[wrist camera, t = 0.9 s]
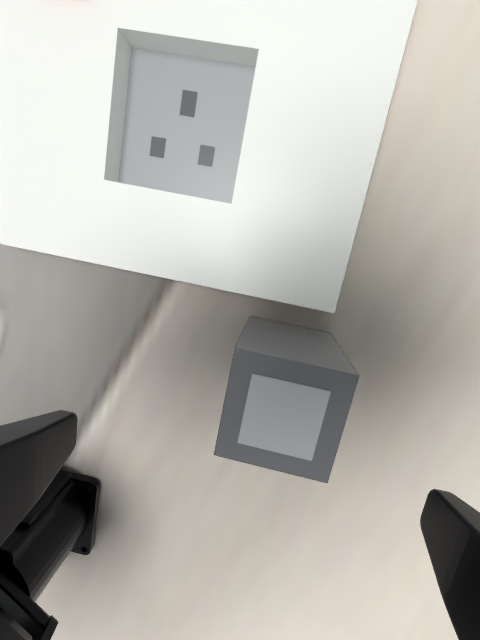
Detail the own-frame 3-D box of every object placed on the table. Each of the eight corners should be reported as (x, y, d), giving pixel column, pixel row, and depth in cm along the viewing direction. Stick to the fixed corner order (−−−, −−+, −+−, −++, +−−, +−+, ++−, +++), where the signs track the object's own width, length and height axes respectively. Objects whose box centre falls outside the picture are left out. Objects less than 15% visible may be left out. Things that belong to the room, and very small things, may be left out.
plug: (310, 406, 20) (327, 484, 13) (234, 389, 21) (213, 455, 14) (330, 332, 19) (359, 375, 12) (250, 315, 20) (234, 348, 13)
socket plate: (328, 307, 19) (337, 316, 16) (18, 243, 20) (-22, 241, 18) (411, -12, 15) (440, -70, 13) (29, -62, 17) (-20, -124, 14)
